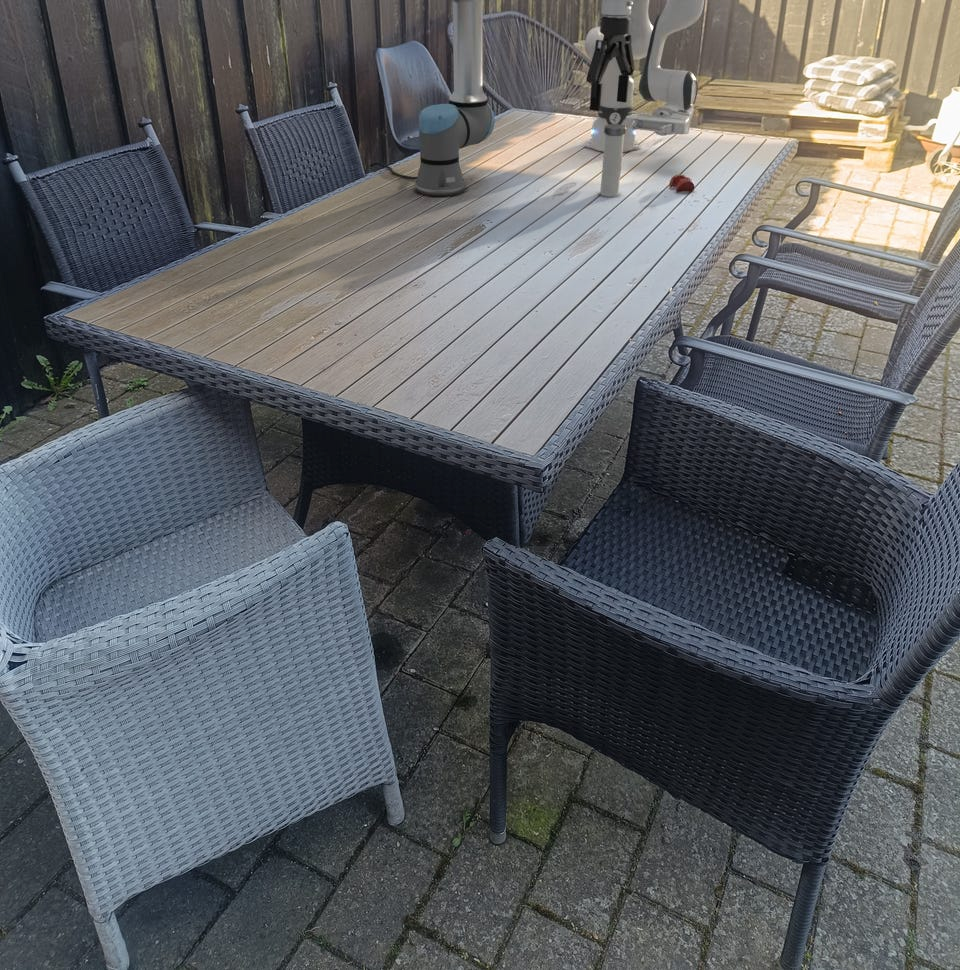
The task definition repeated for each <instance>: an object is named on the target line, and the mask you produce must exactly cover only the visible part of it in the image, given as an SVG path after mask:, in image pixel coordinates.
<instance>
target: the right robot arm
mask: <svg viewBox="0 0 960 970" xmlns="http://www.w3.org/2000/svg"><path fill="white" fill-rule="evenodd" d="M704 5H705V0H666V3H665V6H664V9H663V11H661V12H660V13H658V14H657V15H656V17H655V20H654V22H653V24H652V23H651V21H650V17H649V7H650V0H632V6H631V14H630V15H628V17H630V30H629V33H628V34H627V35H631V46H632V53H633V60H634V61H637V60H641V59H644V58H645V61H644V66H643V70H642V73H641V75H640V79H639V83H638V92H639V94H640V95H641V97H642V99H643V100H644V101H645V102H653V103H654V102H656V103H657V102H660V103H665V104H664V105H661V106H659V107H657V108H655V109H654V110H653V112H652V113H651V114H650V113H640V112H639V113H634V104H633V100H634V90H635V82H634V79H633V77H632V76H630V75H629V82H628V93H627V102H618V101H617V92H618V80H619V75H622V74H621V72H620V69H619V66H618V63H617V61H616V58H615V57H614V58H612V60H610V61H609V63H608V66H607V68H606V70H605V72H604V75H603V77H602V79H601V82H600V84H602V90H601V103H600V111H597V118H596V119H595V120H594V121H593V123H592V125H591V133H590V134H591V138H590V139H589V140H588V141H587V142H586V143H585V147H586V148H588V149H592V150H596V151H597V152H603V153H604V142H605V133H604V128H605V125H608V124H620V125H624V126H626V133H625V134H624V141H623V152H622V153H626V152H630V151H633V150H635V151H636V150H640V145H639V144H638V142H637V141H636V140H635V139H636V130H639V131H647V132H653V133H654V134H656V135H657V136H659V137H660V136H661V137H664V136H665V137H666V136H671V135H688V134H689V133H690V128H691V122H692V121H691V120H692V118H693V116H694V109H695V108H694V105H695V103H696V100H697V96H698V87H699V86H698V85H699V84H698V81H697V79H696V77H695V75H694V73H693V72H692V71H690V70H682V69H681V70H680V69H668V68H662V67H661V60H662V57H663V51H664V47H665V43H666V40H667V38H668V37H669V36H670V35H672V34H674V33H676V32H679V31H682V30H685V29H687V28H689V27H692V25H695V23H696V22H697V21H698V20H699V19H700V17H701V15H702V13H703V10H704ZM603 38H604V35H603V34H602V33H601V32H600V25H599V26H597V27H593V28H591V29H590V30H589V31H588V33H587V35H586V37H585V40H584V50H585V54H586V56H587V57H588V59H589V60H591V61H592V58H593V54H594V51H595V45H596V40H603Z"/></svg>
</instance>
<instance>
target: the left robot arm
mask: <svg viewBox="0 0 960 970" xmlns="http://www.w3.org/2000/svg"><path fill="white" fill-rule="evenodd" d="M483 1H484V0H451V3H452V4H451V5H452V54H453V58H452V59H453V60H452V61H453V92H452V94H451V95H450V96H449V97H448V103H438V104H431V105H428V106H426V107H424V108H423V109H422V110H421V111H420V112H419V114H418V115H419V116H418V126H417V127H418V137H419V138H418V139H419V157H420V158H419V159H420V161H419V162H420V164H419V168H418V172H417V176H409V175H404V174H400V173H398V172H395V171H394V170H393V168H392V167H391V166H389V165H387V164H384V163H382V162H378V161H375V162H372V163H371V164H369V167H374V166H375V165H376V166H381V167H383V168H386V169H388V170H390V173H391V174H392V175H394V176H395V177H400V178H403V179H407V180H408V179H409V180H415V183H414V184H415V185H414V186H415V192H417V193H418V194H420V195H424V196H430V197H450V196H455V195H459V194H461V193H463V192H464V191H466V181H465V179H464V176H463V172H462V169H461V165H460V149H463V148H467V147H470V146H474V145H475V146H476V145H479V144H480V143H482V142H484V141H486V140H487V139H488V138H489V137H490V136H491V135H492V133H493V131H494V128H495V123H496V117H495V113H494V110H492V106H491V105H490V104H489V103H488V96H487V95H486V94H485V93H484V91H483V16H484V15H483V14H484V13H483V8H484V7H483V3H484V2H483ZM631 6H632V0H601V8H600V9H601V10H600V14H601V18H600V24H599V26H600V32H601V33H602V34H603V35H604V38H603V40H596V45H595V51H594V54H593V58H592V60H591V61H590V65H589V67H588V71H587V75H586V78H585V79H586V82H587V83H588V84H590V99H589V100H590V101H589V111H594V112H595V111H596V112H598V111H600V103H601V90H602V84H601V79H602V77H603V75H604V72H605V70H606V68H607V66H608V63H609V61H610V60H612V58H614V57H615V58H616V61H617V63H618V66H619V69H620V72H621V74H622V75H619V80H618V92H617V101H618V102H627V93H628V82H629V76H631V77H632V76H634V72H635V70H636V69H635V62H634V61H635V60H633V53H632V46H631V35H627V34H628V33H629V30H630V17H628V15H630V14H631Z"/></svg>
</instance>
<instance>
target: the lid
mask: <svg viewBox="0 0 960 970" xmlns="http://www.w3.org/2000/svg"><path fill="white" fill-rule="evenodd" d="M604 133H605V134H608V135H623V134H625V133H626V126H624V125H620V124H608V125H605V128H604Z"/></svg>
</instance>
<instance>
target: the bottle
mask: <svg viewBox="0 0 960 970" xmlns="http://www.w3.org/2000/svg"><path fill="white" fill-rule="evenodd" d="M623 141H624V134H623V135H608V134H605V142H604V152H603V156H602V169H601V180H600V193H599V195H600V196H602V197H607V198H614V197H615V198H616V197H618V196H619V195H620V194H619V193H620V185H621V171H622V162H623V161H622V160H623V153H624V152H623Z"/></svg>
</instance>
